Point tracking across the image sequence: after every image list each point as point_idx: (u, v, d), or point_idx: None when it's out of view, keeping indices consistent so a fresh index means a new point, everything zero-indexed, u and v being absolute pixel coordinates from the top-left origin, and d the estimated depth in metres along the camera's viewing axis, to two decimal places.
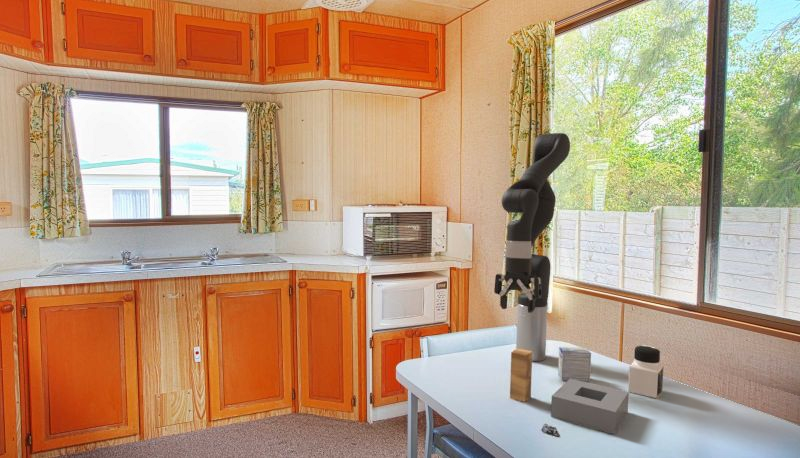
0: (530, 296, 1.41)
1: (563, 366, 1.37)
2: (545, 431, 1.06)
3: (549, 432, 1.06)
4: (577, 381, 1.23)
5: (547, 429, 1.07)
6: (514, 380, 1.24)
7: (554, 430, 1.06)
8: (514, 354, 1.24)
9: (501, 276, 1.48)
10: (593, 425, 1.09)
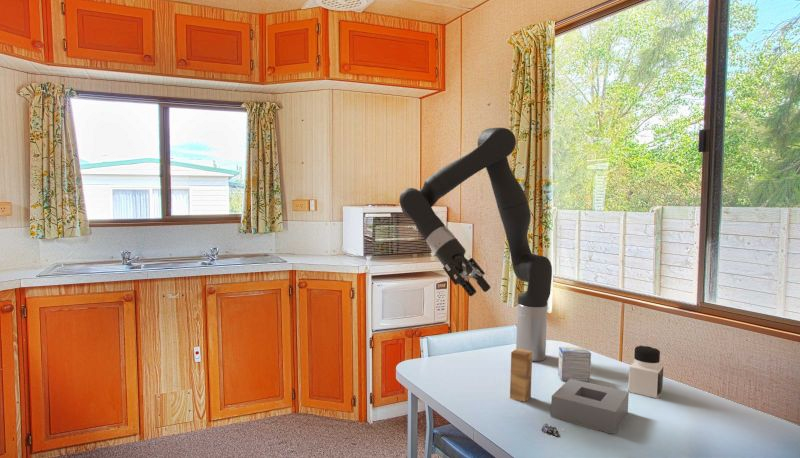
0: None
1: (563, 366, 1.37)
2: (545, 431, 1.06)
3: (549, 432, 1.06)
4: (577, 381, 1.23)
5: (547, 429, 1.07)
6: (514, 380, 1.24)
7: (554, 430, 1.06)
8: (514, 354, 1.24)
9: None
10: (593, 425, 1.09)
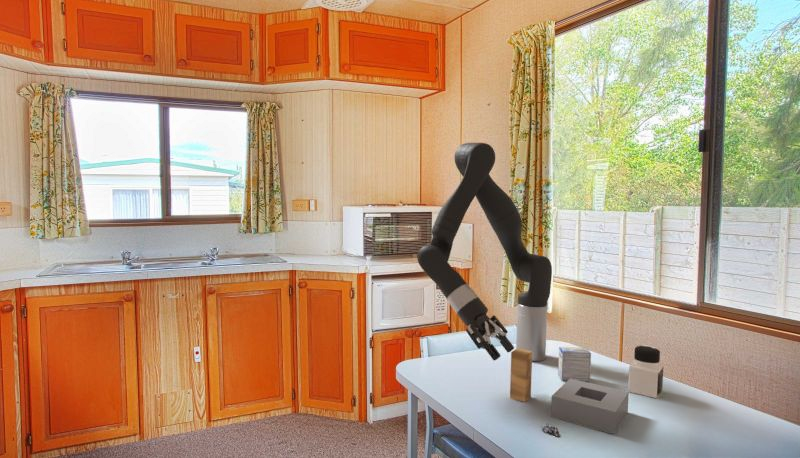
0: None
1: (563, 366, 1.37)
2: (546, 431, 1.06)
3: (550, 432, 1.06)
4: (577, 381, 1.23)
5: (548, 429, 1.07)
6: (514, 380, 1.24)
7: (555, 430, 1.06)
8: (514, 354, 1.24)
9: None
10: (593, 425, 1.09)
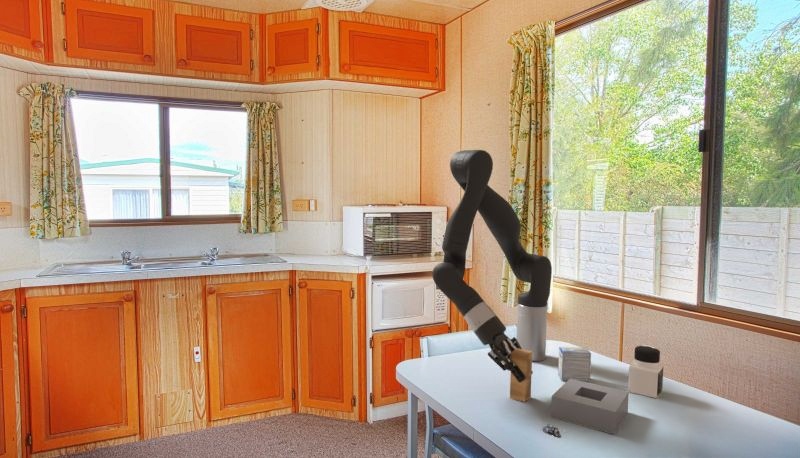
0: None
1: (563, 366, 1.37)
2: (546, 431, 1.06)
3: (550, 432, 1.06)
4: (577, 381, 1.23)
5: (548, 429, 1.07)
6: (514, 380, 1.24)
7: (555, 430, 1.06)
8: (514, 354, 1.24)
9: None
10: (593, 425, 1.09)
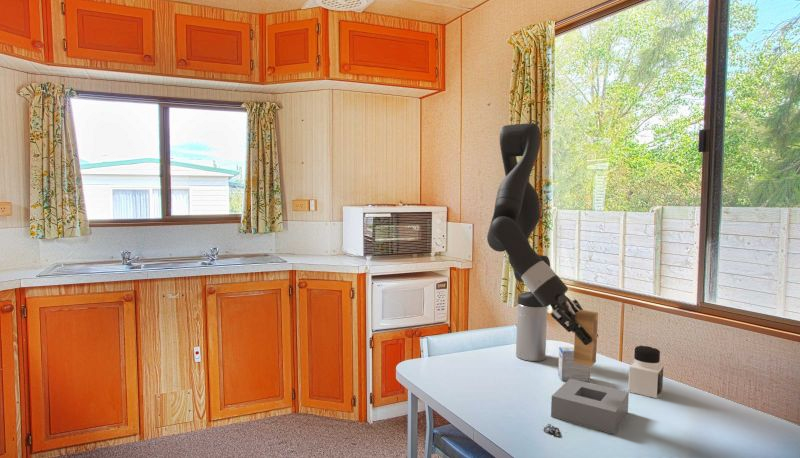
0: None
1: (563, 366, 1.37)
2: (547, 431, 1.06)
3: (551, 432, 1.06)
4: (577, 381, 1.23)
5: (549, 429, 1.07)
6: (579, 343, 1.14)
7: (556, 430, 1.06)
8: (579, 315, 1.14)
9: None
10: (593, 425, 1.09)
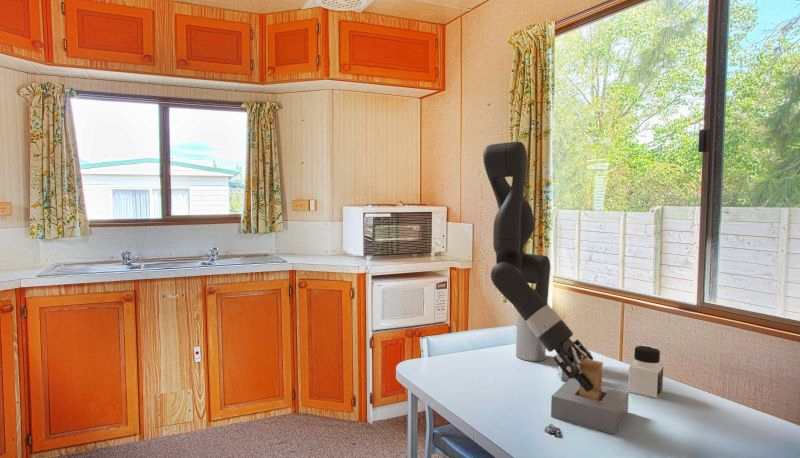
0: None
1: None
2: (548, 431, 1.06)
3: (552, 432, 1.06)
4: (577, 381, 1.23)
5: (550, 429, 1.07)
6: (584, 393, 1.15)
7: (557, 431, 1.06)
8: (584, 365, 1.14)
9: None
10: (593, 425, 1.09)
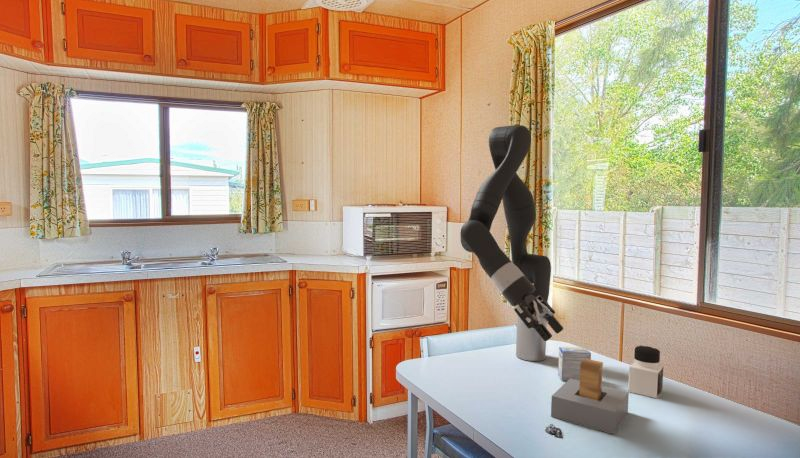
0: None
1: (563, 366, 1.37)
2: (548, 431, 1.06)
3: (552, 432, 1.06)
4: (577, 381, 1.23)
5: (550, 429, 1.06)
6: (584, 393, 1.15)
7: (558, 431, 1.06)
8: (584, 365, 1.14)
9: None
10: (593, 425, 1.09)
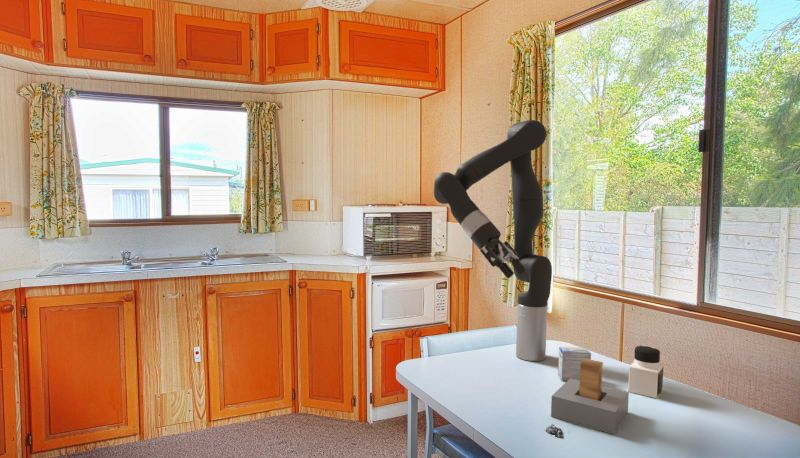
0: None
1: (563, 366, 1.37)
2: (549, 431, 1.06)
3: (552, 432, 1.06)
4: (577, 381, 1.23)
5: (551, 429, 1.06)
6: (584, 393, 1.15)
7: (558, 431, 1.06)
8: (584, 365, 1.14)
9: None
10: (593, 425, 1.09)
